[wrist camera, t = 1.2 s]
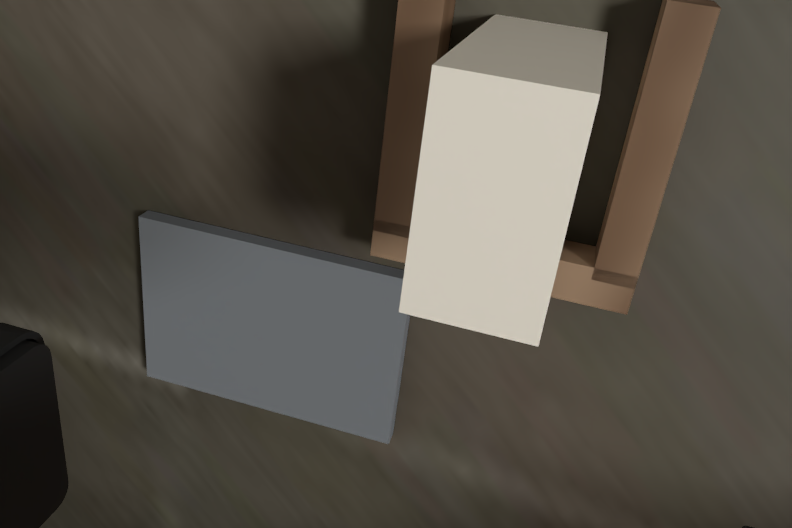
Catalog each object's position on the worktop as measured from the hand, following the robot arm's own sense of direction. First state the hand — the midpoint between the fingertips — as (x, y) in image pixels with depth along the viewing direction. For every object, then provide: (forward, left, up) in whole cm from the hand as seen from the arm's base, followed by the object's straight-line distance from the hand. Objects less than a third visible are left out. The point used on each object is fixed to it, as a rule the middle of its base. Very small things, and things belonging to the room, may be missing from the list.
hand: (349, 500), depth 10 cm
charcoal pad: (+10, +12, -20) cm, 25 cm away
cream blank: (0, 0, -20) cm, 20 cm away
